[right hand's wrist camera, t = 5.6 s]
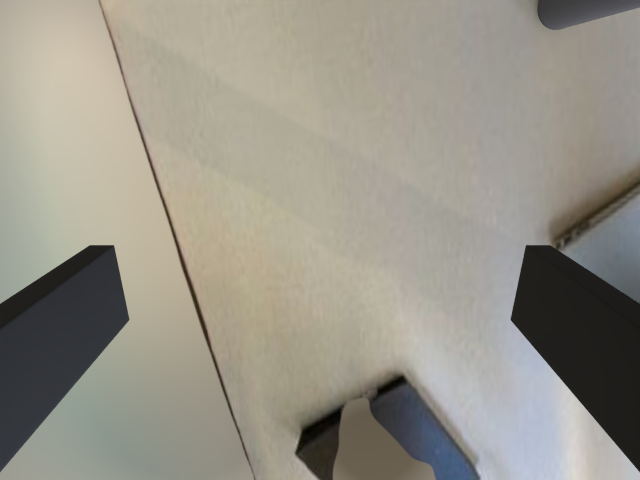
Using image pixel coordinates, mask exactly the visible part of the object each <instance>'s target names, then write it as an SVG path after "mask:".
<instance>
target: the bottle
mask: <svg viewBox="0 0 640 480" xmlns="http://www.w3.org/2000/svg"><path fill="white" fill-rule="evenodd" d="M639 7H640V0H539V4H538V15H539V18H540V21H541V22H542V23H543V25H544V26H546V27H547V28H550V29H554V30H557V29H562V28H566V27H570V26H573V25H577V24H580V23H584V22H588V21H591V20H595V19H599V18H602V17H606V16H610V15H613V14H617V13H620V12H624V11H628V10H631V9H635V8H639Z"/></svg>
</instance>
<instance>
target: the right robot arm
mask: <svg viewBox="0 0 640 480" xmlns="http://www.w3.org/2000/svg"><path fill="white" fill-rule="evenodd" d="M128 321H129V316H128V311H127V306H126V301H125V296H124V292H123V287H122V282H121V277H120V272H119V268H118V263H117V258H116V253H115V248H114V245H90V246H88V247H87V248H85V249H84V250H82V251H81V252H79V253H78V254H76V255H74V256H73V257H71V258H70V259H68V260H67V261H65V262H64V263H62V264H61V265H59V266H58V267H56V268H55V269H53V270H51V271H50V272H48V273H47V274H45V275H44V276H42V277H41V278H39V279H38V280H36V281H35V282H33V283H32V284H30V285H28V286H27V287H25V288H24V289H22V290H21V291H19V292H18V293H16V294H15V295H13V296H12V297H10V298H9V299H7V300H6V301H4V302H2V303H1V304H0V472H1V470H2V469H3V468H4V467H5V466H6V465H7V463H8V462H9V461H10V460H11V459H12V458H13V456H14V455H15V454H16V453H17V452H18V450H19V449H20V448H21V447H22V446H23V445H24V443H25V442H26V441H27V440H28V439H29V438H30V436H31V435H32V434H33V433H34V432H35V430H36V429H37V428H38V427H39V426H40V425H41V423H42V422H43V421H44V420H45V419H46V417H47V416H48V415H49V414H50V413H51V412H52V410H53V409H54V408H55V407H56V406H57V404H58V403H59V402H60V401H61V400H62V399H63V397H64V396H65V395H66V394H67V393H68V392H69V390H70V389H71V388H72V387H73V386H74V384H75V383H76V382H77V381H78V380H79V379H80V377H81V376H82V375H83V374H84V373H85V371H86V370H87V369H88V368H89V367H90V366H91V364H92V363H93V362H94V361H95V360H96V359H97V357H98V356H99V355H100V354H101V353H102V351H103V350H104V349H105V348H106V347H107V346H108V344H109V343H110V342H111V341H112V340H113V339H114V337H115V336H116V335H117V334H118V333H119V331H120V330H121V329H122V328H123V327H124V326H125V324H126V323H127V322H128ZM511 321H512V322H513V323H514V324H515V326H516V327H517V328H518V329H519V330H520V331H521V333H522V334H523V335H524V336H525V337H526V339H527V340H528V341H529V342H530V343H531V344H532V346H533V347H534V348H535V349H536V350H537V351H538V353H539V354H540V355H541V356H542V357H543V359H544V360H545V361H546V362H547V363H548V364H549V366H550V367H551V368H552V369H553V370H554V372H555V373H556V374H557V375H558V376H559V377H560V379H561V380H562V381H563V382H564V383H565V384H566V386H567V387H568V388H569V389H570V390H571V392H572V393H573V394H574V395H575V396H576V397H577V399H578V400H579V401H580V402H581V403H582V405H583V406H584V407H585V408H586V409H587V410H588V412H589V413H590V414H591V415H592V416H593V417H594V419H595V420H596V421H597V422H598V423H599V425H600V426H601V427H602V428H603V429H604V430H605V432H606V433H607V434H608V435H609V436H610V438H611V439H612V440H613V441H614V442H615V443H616V445H617V446H618V447H619V448H620V449H621V450H622V452H623V453H624V454H625V455H626V456H627V458H628V459H629V460H630V461H631V462H632V463H633V465H634V466H635V467H636V468H637V469H638V471H639V472H640V304H639V303H638V302H636V301H635V300H633V299H631V298H630V297H628V296H627V295H625V294H624V293H622V292H621V291H619V290H618V289H616V288H615V287H613V286H612V285H610V284H608V283H607V282H605V281H604V280H602V279H601V278H599V277H598V276H596V275H595V274H593V273H592V272H590V271H589V270H587V269H585V268H584V267H582V266H581V265H579V264H578V263H576V262H575V261H573V260H572V259H570V258H569V257H567V256H566V255H564V254H563V253H561V252H559V251H558V250H556V249H555V248H553V247H552V246H550V245H526V248H525V253H524V258H523V263H522V267H521V272H520V277H519V282H518V287H517V292H516V296H515V301H514V306H513V311H512V316H511Z"/></svg>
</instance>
